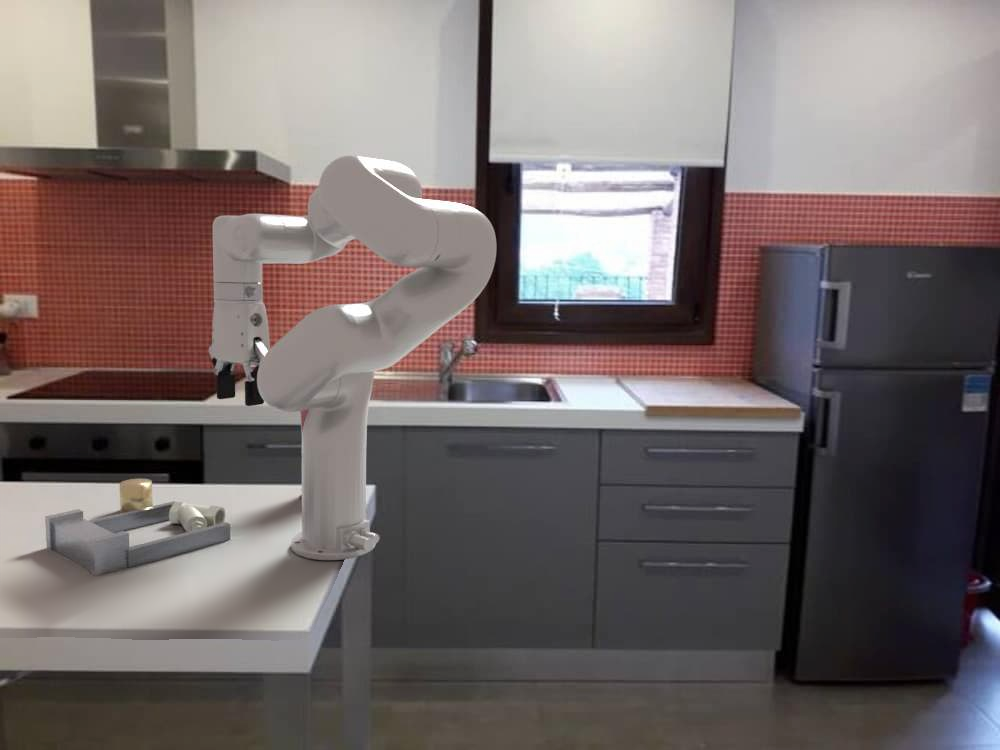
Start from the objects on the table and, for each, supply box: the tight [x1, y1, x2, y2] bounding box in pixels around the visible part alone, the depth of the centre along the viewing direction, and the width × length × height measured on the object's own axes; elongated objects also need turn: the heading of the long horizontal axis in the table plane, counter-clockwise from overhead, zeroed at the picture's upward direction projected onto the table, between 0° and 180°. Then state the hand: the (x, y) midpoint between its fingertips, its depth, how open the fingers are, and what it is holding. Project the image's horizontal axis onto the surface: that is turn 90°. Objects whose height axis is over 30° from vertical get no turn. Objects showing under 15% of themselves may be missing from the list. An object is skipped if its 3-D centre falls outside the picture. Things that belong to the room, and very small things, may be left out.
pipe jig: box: [44, 501, 231, 576], centre depth 123 cm, size 16×20×5 cm
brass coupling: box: [119, 478, 154, 513], centre depth 138 cm, size 5×5×5 cm
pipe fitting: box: [169, 501, 226, 533], centre depth 130 cm, size 8×4×7 cm
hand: (240, 400), depth 134 cm, fingers open, 7 cm apart
